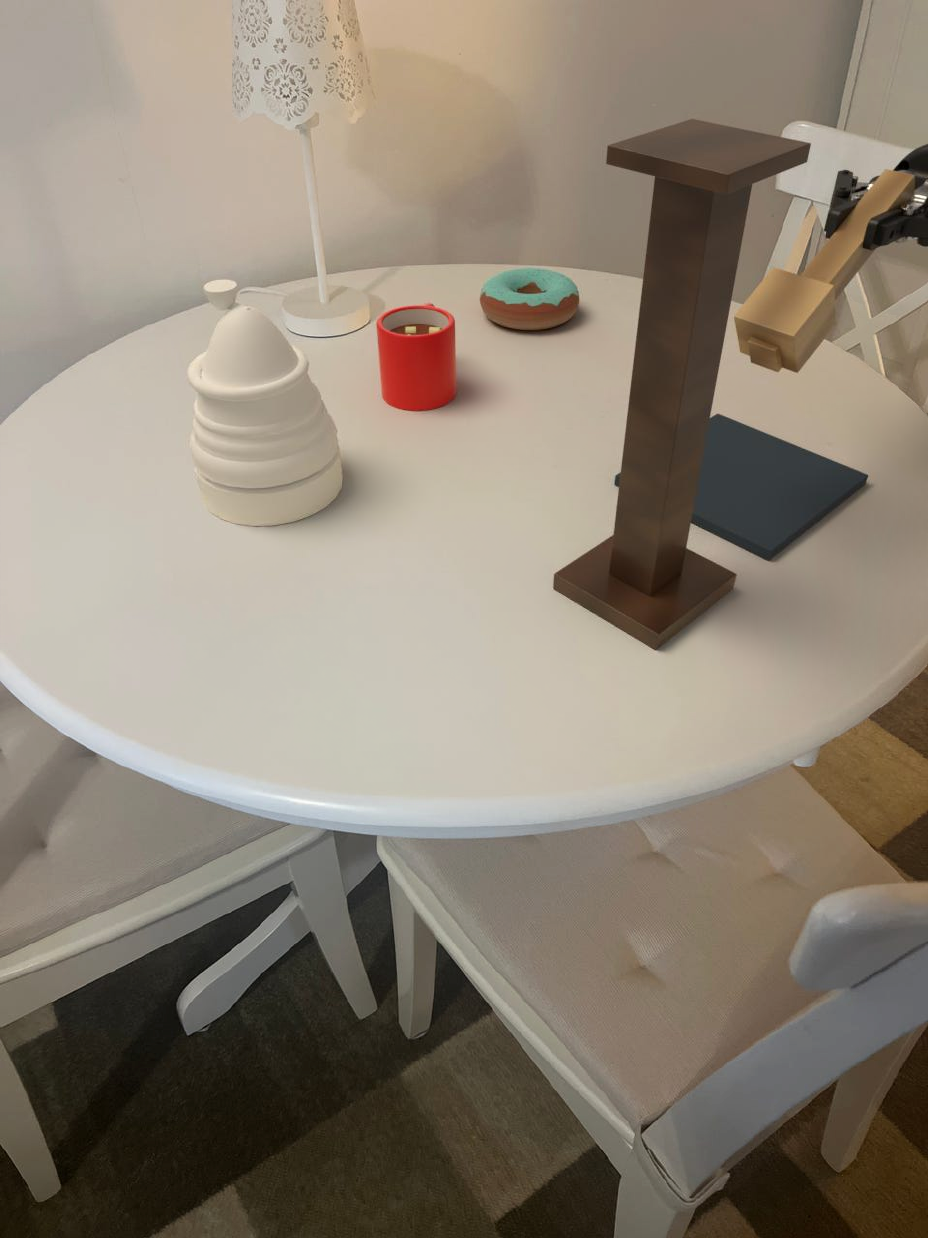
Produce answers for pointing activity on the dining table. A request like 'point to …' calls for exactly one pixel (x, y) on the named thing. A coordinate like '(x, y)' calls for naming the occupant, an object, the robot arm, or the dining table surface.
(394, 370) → the mug
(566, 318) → the donut
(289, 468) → the honey pot
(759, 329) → the light wood mallet shape
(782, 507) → the mat
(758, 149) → the brown pedestal stand
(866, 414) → the dining table surface
